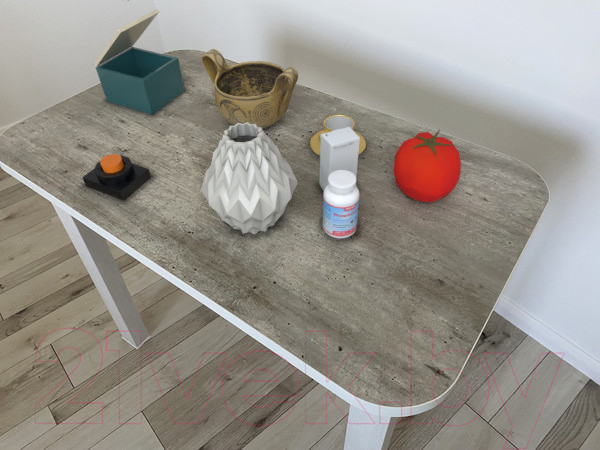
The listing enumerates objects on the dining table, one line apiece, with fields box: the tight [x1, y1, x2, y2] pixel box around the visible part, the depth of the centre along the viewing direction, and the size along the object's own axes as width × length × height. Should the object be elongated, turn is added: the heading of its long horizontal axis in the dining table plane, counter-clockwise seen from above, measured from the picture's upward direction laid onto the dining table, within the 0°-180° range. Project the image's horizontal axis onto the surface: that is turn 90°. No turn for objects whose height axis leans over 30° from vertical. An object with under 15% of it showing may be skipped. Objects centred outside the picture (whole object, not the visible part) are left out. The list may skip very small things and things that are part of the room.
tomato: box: [393, 129, 462, 203], centre depth 88 cm, size 12×13×12 cm
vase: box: [200, 122, 299, 235], centre depth 82 cm, size 16×16×18 cm
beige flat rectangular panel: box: [93, 8, 160, 68], centre depth 112 cm, size 15×13×1 cm
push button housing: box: [81, 154, 152, 202], centre depth 95 cm, size 10×8×4 cm
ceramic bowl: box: [201, 48, 299, 130], centre depth 106 cm, size 22×17×15 cm
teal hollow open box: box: [95, 46, 186, 115], centre depth 118 cm, size 15×13×9 cm
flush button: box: [99, 153, 124, 173], centre depth 94 cm, size 4×4×2 cm
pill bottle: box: [322, 170, 360, 239], centre depth 82 cm, size 6×6×11 cm
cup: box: [309, 114, 367, 157], centre depth 102 cm, size 12×12×5 cm
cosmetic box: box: [318, 127, 360, 191], centre depth 90 cm, size 6×4×12 cm
